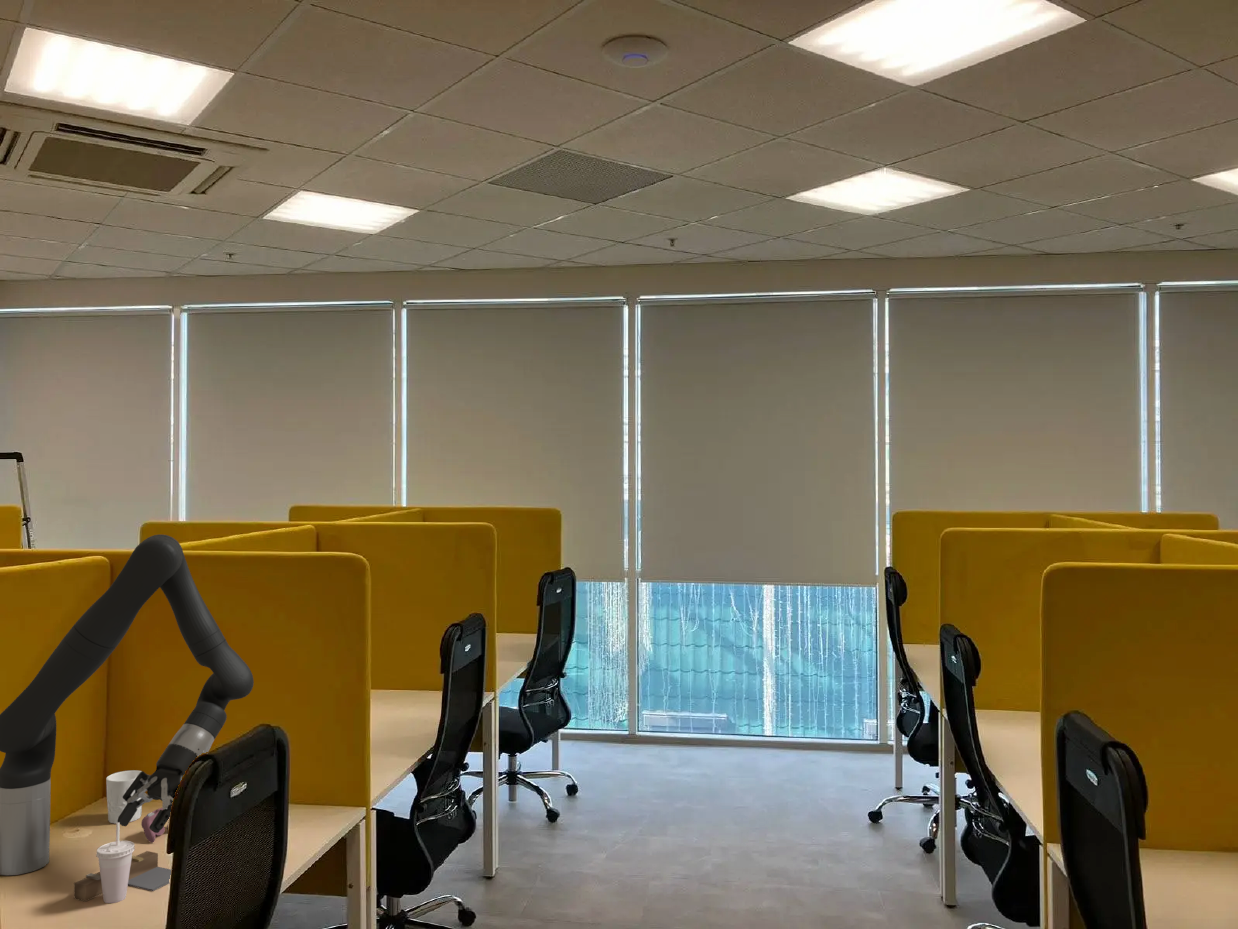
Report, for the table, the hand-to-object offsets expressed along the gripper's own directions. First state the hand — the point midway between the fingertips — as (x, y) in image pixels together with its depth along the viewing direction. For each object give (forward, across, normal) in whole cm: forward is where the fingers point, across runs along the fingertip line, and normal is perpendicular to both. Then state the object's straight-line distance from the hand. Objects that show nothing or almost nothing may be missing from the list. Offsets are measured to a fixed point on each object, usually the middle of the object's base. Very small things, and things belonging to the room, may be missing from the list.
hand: (137, 827), depth 175 cm
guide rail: (+8, -6, +8) cm, 13 cm away
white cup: (-10, -34, +26) cm, 44 cm away
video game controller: (-7, -17, +24) cm, 30 cm away
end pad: (+5, 0, +11) cm, 12 cm away
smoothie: (+12, 0, +5) cm, 13 cm away
